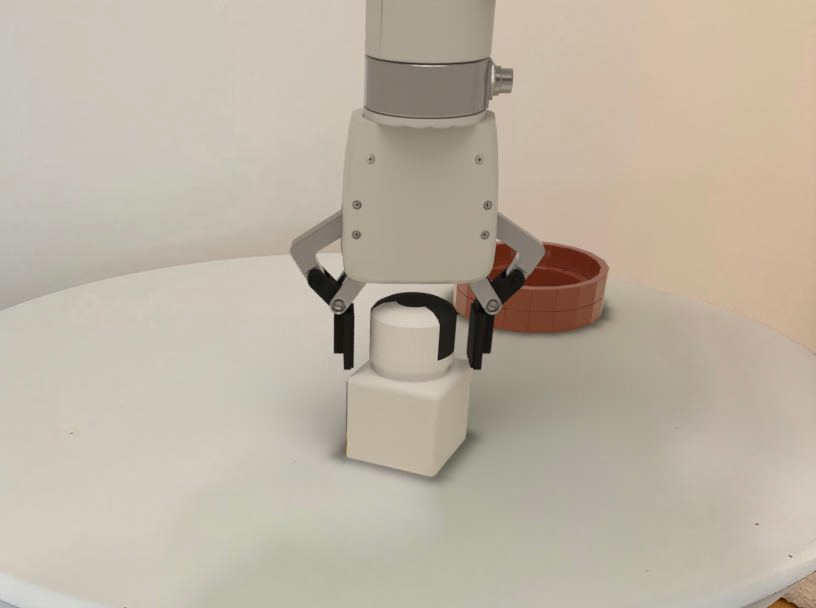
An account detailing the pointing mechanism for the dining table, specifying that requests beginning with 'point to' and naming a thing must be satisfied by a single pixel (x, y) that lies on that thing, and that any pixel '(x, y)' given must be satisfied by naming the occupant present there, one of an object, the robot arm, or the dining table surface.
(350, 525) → the dining table surface
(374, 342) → the medicine bottle
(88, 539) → the dining table surface
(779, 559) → the dining table surface
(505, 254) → the bowl
